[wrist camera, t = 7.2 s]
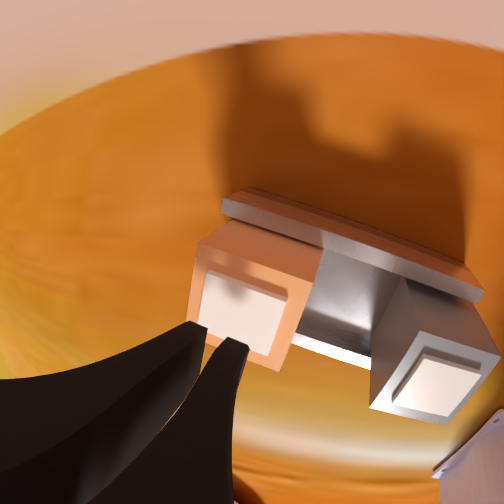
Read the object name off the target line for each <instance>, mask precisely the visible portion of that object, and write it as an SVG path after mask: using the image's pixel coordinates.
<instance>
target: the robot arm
mask: <svg viewBox="0 0 504 504" xmlns="http://www.w3.org/2000/svg"><path fill="white" fill-rule="evenodd" d="M207 331H208V328H206V327H204V326H201V325H199V324H197V323H195V322H192V321H190V320H189V321H187V322H185V323H183V324H181V325H179V326H177V327H175V328H173V329H171V330H169V331H167V332H165V333H163V334H161V335H159V336H157V337H155V338H153V339H151V340H149V341H147V342H145V343H142V344H140V345H138V346H136V347H134V348H131V349H129V350H127V351H124V352H122V353H119V354H117V355H114V356H111V357H109V358H106V359H104V360H101V361H98V362H95V363H92V364H89V365H86V366H82V367H79V368H75V369H71V370H67V371H63V372H58V373H53V374H48V375H42V376H36V377H29V378H17V379H0V504H234V496H233V485H232V428H233V415H234V405H235V399H236V392H237V388H238V385H239V382H240V379H241V376H242V373H243V370H244V366H245V363H246V360H247V357H248V354H249V350H250V348H249V346H248V345H247V344H245V343H243V342H240V341H238V340H235V339H233V338H230V337H227V338H226V339H225V340H224V341H223V342H222V343H221V344H220V345H219V346H218V347H217V348H216V349H215V351H214V352H213V354H212V355H211V357H210V359H209V360H208V362H207V364H206V365H205V367H204V369H203V370H202V372H201V374H200V369H201V363H202V358H203V352H204V347H205V341H206V336H207ZM199 374H200V375H199ZM198 376H199V377H198ZM197 378H198V379H197ZM196 379H197V380H196ZM195 381H196V382H195ZM194 383H195V384H194ZM192 386H193V387H192ZM191 388H192V389H191ZM189 391H190V392H189ZM188 393H189V394H188ZM186 396H187V397H186ZM185 398H186V399H185ZM183 401H184V402H183ZM182 402H183V403H182ZM181 403H182V405H181ZM180 405H181V406H180ZM179 406H180V408H179V409H178V407H179ZM177 409H178V410H177ZM176 410H177V412H176V413H175V414H174V412H175V411H176ZM173 414H174V415H173ZM172 415H173V417H172V418H171V419H170V417H171V416H172ZM169 419H170V420H169ZM168 420H169V421H168ZM167 421H168V423H167V424H166V422H167ZM165 424H166V425H165ZM164 425H165V426H164ZM163 426H164V427H163ZM162 427H163V428H162ZM161 429H162V430H161ZM160 430H161V431H160ZM159 431H160V432H159ZM158 432H159V433H158ZM157 433H158V434H157ZM155 436H156V437H155ZM154 437H155V438H154ZM153 438H154V439H153ZM432 478H438V479H439V493H440V504H504V409H499V410H498V411H497V412H495V414H494V415H493V416H492V417H491V418H490V419H489V420H488V421H487V422H486V423H485V424H484V426H483V427H482V428H481V429H480V430H479V431H478V432H477V433H476V434H475V435H474V436H473V437H472V438H471V439H470V440H469V441H468V442H467V443H466V444H465V445H463V446H462V447H461V448H460V449H459V450H458V451H457V452H456V453H455V454H454V455H453V456H452V457H450V458H449V459H448V460H447V461H446V462H445V463H444V464H442V465H441V466H440V467H439V468H438V469H436V470H435V471H434V472H433V473H432Z"/></svg>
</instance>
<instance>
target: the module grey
mask: <svg viewBox="0 0 504 504" xmlns="http://www.w3.org/2000/svg"><path fill="white" fill-rule="evenodd" d="M370 347H371V357H370V399H369V408H373V409H376V410H380V411H384V412H388V413H392V414H396V415H400V416H404V417H409V418H413V419H418V420H422V421H427V422H432V423H437V424H442V425H447V424H448V423H449V422H450V421H451V420H452V419H453V418H454V416H455V415H456V414H457V413H458V412H459V411H460V410H461V409H462V407H463V406H464V405H465V404H466V403H467V402H468V400H469V399H470V398H471V397H472V395H473V394H474V393H475V392H476V391H477V389H478V388H479V387H480V385H481V384H482V383H483V382H484V380H485V379H486V378H487V376H488V375H489V374H490V372H491V371H492V369H493V368H494V367H495V365H496V364H497V362H498V361H499V360H500V358H501V355H500V353H499V351H498V349H497V347H496V345H495V343H494V341H493V339H492V337H491V335H490V333H489V332H488V330H487V328H486V326H485V324H484V322H483V321H482V319H481V317H480V315H479V314H478V312H477V310H476V308H475V307H474V305H473V303H472V302H470V301H468V300H465V299H463V298H460V297H457V296H455V295H452V294H449V293H447V292H444V291H442V290H439V289H436V288H434V287H431V286H428V285H426V284H423V283H420V282H417V281H415V280H412V279H409V278H407V277H404V276H401V277H400V279H399V281H398V284H397V286H396V288H395V290H394V292H393V294H392V296H391V299H390V301H389V303H388V305H387V307H386V309H385V311H384V313H383V315H382V317H381V319H380V321H379V323H378V325H377V327H376V328H375V330H374V332H373V334H372V336H371V338H370Z"/></svg>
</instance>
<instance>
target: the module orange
mask: <svg viewBox="0 0 504 504" xmlns="http://www.w3.org/2000/svg"><path fill="white" fill-rule="evenodd" d="M323 251H324V248H322V247H319V246H317V245H314V244H311V243H308V242H305V241H302V240H299V239H296V238H293V237H290V236H287V235H284V234H281V233H278V232H275V231H272V230H269V229H266V228H263V227H260V226H257V225H254V224H251V223H248V222H245V221H242V220H239V219H236V218H234V219H233V220H231V221H230V222H228V223H227V224H225V225H223V226H222V227H220V228H219V229H217V230H216V231H214V232H213V233H211V234H210V235H208V236H207V237H205V238H204V239H202V240H201V241H199V242H198V245H197V251H196V257H195V264H194V270H193V277H192V283H191V290H190V297H189V304H188V311H187V318H186V322H187V321H189V320H190V321H192V322H195V323H197V324H199V325H201V326H204V327H206V328H208V331H207V336H206V341H205V343H208V344H210V345H212V346H215V347H218V346H219V345H220V344H221V343H222V342H223V341H224V340H225V339H226V338H227V337H230V338H233V339H235V340H238V341H240V342H243V343H245V344H247V345H248V346H249V348H250V350H249V354H248V357H247V360H249V361H252V362H254V363H257V364H259V365H262V366H265V367H267V368H270V369H273V370H275V371H278V372H279V371H280V368H281V366H282V364H283V361H284V359H285V356H286V354H287V351H288V349H289V346H290V344H291V341H292V339H293V336H294V334H295V331H296V328H297V326H298V323H299V321H300V318H301V315H302V313H303V310H304V307H305V305H306V302H307V299H308V297H309V294H310V291H311V288H312V286H313V283H314V280H315V277H316V273H317V270H318V267H319V264H320V260H321V257H322V254H323Z"/></svg>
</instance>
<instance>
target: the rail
mask: <svg viewBox="0 0 504 504" xmlns="http://www.w3.org/2000/svg"><path fill="white" fill-rule="evenodd" d="M220 214H223V215H226V216H230V217H233V218H236V219H239V220H242V221H245V222H248V223H251V224H254V225H257V226H260V227H263V228H266V229H269V230H272V231H275V232H278V233H281V234H284V235H287V236H290V237H293V238H296V239H299V240H302V241H305V242H308V243H311V244H314V245H317V246H319V247H322V248H324V251H323V254H322V257H321V260H320V264H319V267H318V270H317V273H316V277H315V280H314V283H313V286H312V288H311V291H310V294H309V297H308V299H307V302H306V305H305V307H304V310H303V313H302V315H301V318H300V321H299V323H298V326H297V328H296V331H295V334H294V336H293V339H292V341H291V343H293V344H296V345H298V346H301V347H304V348H307V349H310V350H313V351H316V352H319V353H321V354H324V355H327V356H330V357H333V358H336V359H339V360H342V361H346V362H349V363H352V364H355V365H358V366H361V367H364V368H368V369H370V357H371V347H370V338H371V336H372V334H373V332H374V330H375V328H376V327H377V325H378V323H379V321H380V319H381V317H382V315H383V313H384V311H385V309H386V307H387V305H388V303H389V301H390V299H391V296H392V294H393V292H394V290H395V288H396V286H397V284H398V281H399V279H400V277H401V276H404V277H407V278H409V279H412V280H415V281H417V282H420V283H423V284H426V285H428V286H431V287H434V288H436V289H439V290H442V291H444V292H447V293H449V294H452V295H455V296H457V297H460V298H463V299H465V300H468V301H470V302H473V303H475V304H478V303H479V301H480V299H481V297H482V296H483V294H484V292H485V290H484V289H483V287H482V286H481V284H480V283H479V282H478V280H477V279H476V278H475V276H474V275H473V274H472V272H471V271H470V270H469V269H468V267H467V266H466V265H465V263H462V262H460V261H457V260H455V259H453V258H450V257H448V256H445V255H443V254H440V253H438V252H436V251H433V250H431V249H428V248H425V247H423V246H420V245H418V244H415V243H413V242H410V241H407V240H405V239H402V238H400V237H397V236H394V235H392V234H389V233H386V232H384V231H381V230H378V229H375V228H373V227H370V226H367V225H364V224H361V223H359V222H356V221H353V220H350V219H347V218H344V217H341V216H338V215H336V214H333V213H330V212H327V211H324V210H321V209H318V208H315V207H312V206H309V205H305V204H302V203H299V202H296V201H293V200H290V199H287V198H283V197H280V196H277V195H274V194H271V193H267V192H264V191H261V190H257V189H254V188H251V187H247V188H244V189H242V190H240V191H238V192H235V193H233V194H231V195H229V196H226V197H224V198H223V203H222V208H221V212H220Z"/></svg>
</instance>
